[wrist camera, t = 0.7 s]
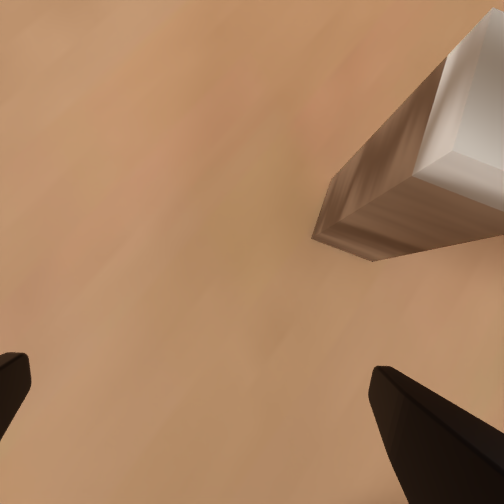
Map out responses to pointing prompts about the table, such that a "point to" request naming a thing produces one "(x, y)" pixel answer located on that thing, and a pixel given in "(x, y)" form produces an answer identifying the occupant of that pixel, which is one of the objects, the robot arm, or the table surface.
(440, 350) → the table surface
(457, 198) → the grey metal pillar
